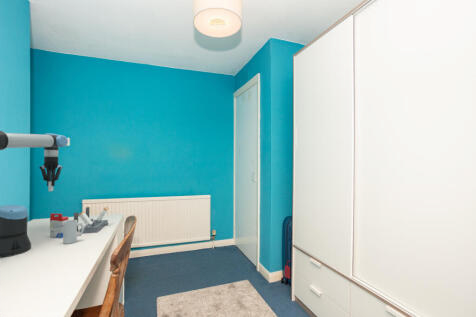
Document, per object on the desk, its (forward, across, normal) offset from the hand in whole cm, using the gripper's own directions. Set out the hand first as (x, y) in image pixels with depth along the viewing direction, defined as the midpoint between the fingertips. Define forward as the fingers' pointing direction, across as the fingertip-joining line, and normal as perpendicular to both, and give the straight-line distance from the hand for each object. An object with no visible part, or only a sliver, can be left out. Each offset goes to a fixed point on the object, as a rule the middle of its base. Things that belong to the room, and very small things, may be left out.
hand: (50, 190), depth 154 cm
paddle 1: (+23, -28, +8) cm, 37 cm away
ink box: (+27, -13, +16) cm, 34 cm away
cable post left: (+26, -18, +8) cm, 33 cm away
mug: (+27, -26, +28) cm, 47 cm away
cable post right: (+26, -18, -16) cm, 36 cm away
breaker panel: (+26, -28, +2) cm, 39 cm away
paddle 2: (+22, -29, -3) cm, 36 cm away
